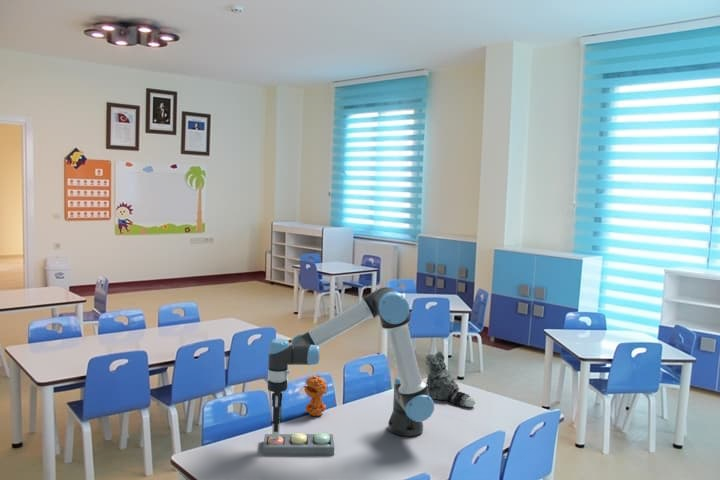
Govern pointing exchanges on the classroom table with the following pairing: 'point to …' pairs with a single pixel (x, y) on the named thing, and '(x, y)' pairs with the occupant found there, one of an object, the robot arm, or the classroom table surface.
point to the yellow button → (298, 438)
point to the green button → (321, 438)
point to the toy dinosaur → (315, 395)
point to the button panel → (298, 446)
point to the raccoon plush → (444, 382)
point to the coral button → (275, 440)
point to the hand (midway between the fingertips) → (275, 438)
